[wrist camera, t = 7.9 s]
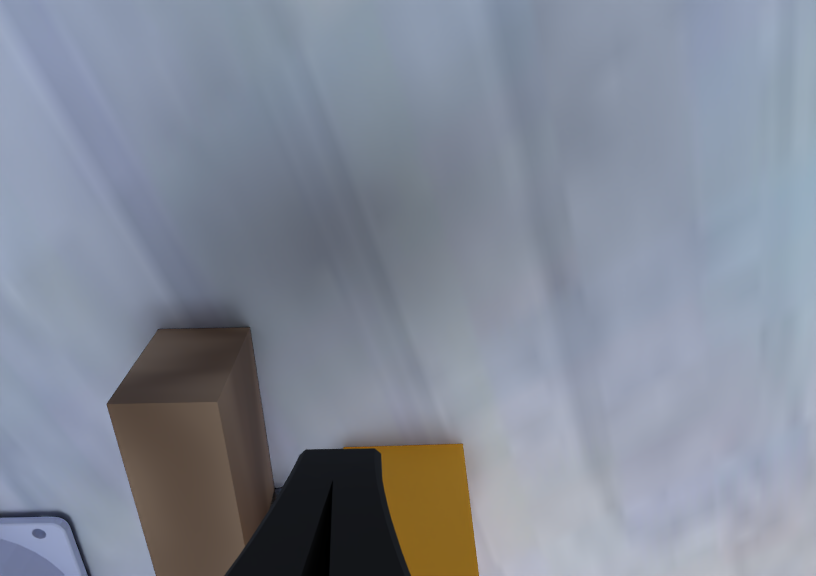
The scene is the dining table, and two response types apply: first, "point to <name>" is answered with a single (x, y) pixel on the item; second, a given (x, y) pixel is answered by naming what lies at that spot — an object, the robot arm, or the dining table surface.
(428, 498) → the pipe clamp
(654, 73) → the dining table surface
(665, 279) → the dining table surface
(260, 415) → the bench fence
